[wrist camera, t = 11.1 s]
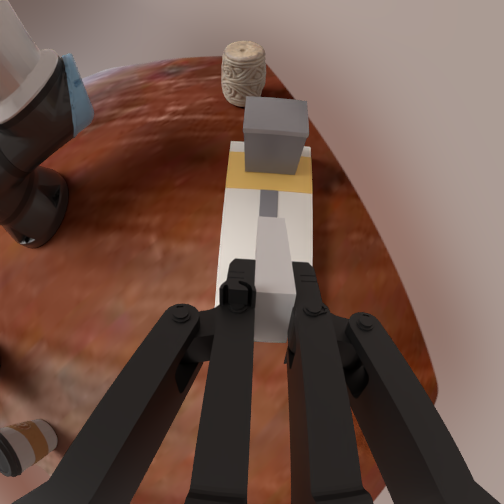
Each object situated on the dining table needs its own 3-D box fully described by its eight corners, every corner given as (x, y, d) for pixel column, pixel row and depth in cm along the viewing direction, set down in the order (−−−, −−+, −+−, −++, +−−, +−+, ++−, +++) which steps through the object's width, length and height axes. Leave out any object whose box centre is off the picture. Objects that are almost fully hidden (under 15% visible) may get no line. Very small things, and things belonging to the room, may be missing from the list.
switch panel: (305, 326, 36) (310, 327, 33) (216, 321, 36) (213, 322, 33) (306, 157, 42) (310, 146, 39) (232, 151, 42) (230, 140, 39)
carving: (267, 106, 45) (272, 56, 33) (226, 112, 44) (221, 62, 32) (260, 84, 46) (262, 36, 34) (221, 90, 46) (216, 41, 34)
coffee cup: (54, 416, 32) (-1, 438, 17) (68, 456, 30) (21, 486, 15) (26, 410, 31) (-26, 426, 17) (39, 448, 29) (-7, 471, 15)
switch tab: (295, 175, 38) (309, 133, 28) (244, 172, 38) (243, 128, 28) (295, 145, 39) (306, 101, 29) (246, 142, 39) (246, 96, 29)
